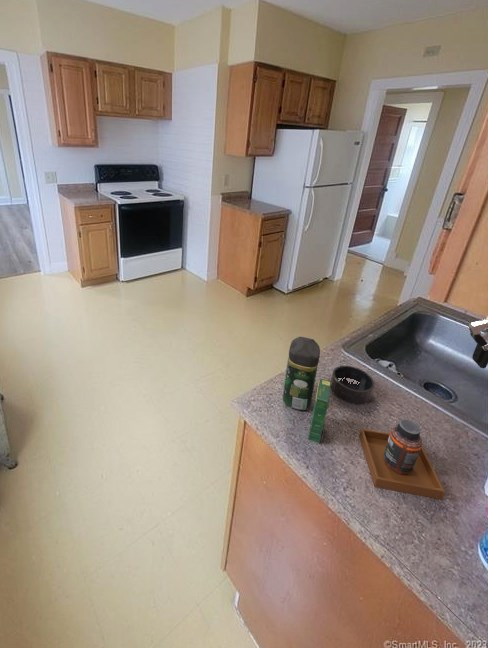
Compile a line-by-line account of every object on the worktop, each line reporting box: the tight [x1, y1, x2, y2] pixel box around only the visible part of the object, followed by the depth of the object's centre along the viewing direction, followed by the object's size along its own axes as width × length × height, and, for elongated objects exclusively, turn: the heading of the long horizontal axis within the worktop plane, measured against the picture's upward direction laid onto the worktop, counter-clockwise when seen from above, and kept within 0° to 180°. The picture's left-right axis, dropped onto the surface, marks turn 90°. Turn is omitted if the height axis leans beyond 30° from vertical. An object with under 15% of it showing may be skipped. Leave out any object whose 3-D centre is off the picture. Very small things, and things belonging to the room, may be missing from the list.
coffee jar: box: [282, 336, 321, 411], centre depth 88 cm, size 10×8×19 cm
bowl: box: [330, 365, 375, 406], centre depth 94 cm, size 11×11×4 cm
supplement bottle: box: [383, 418, 423, 474], centre depth 71 cm, size 6×6×11 cm
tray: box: [358, 428, 446, 501], centre depth 73 cm, size 13×13×2 cm
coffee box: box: [307, 378, 331, 444], centre depth 79 cm, size 8×3×13 cm, turn 155°
